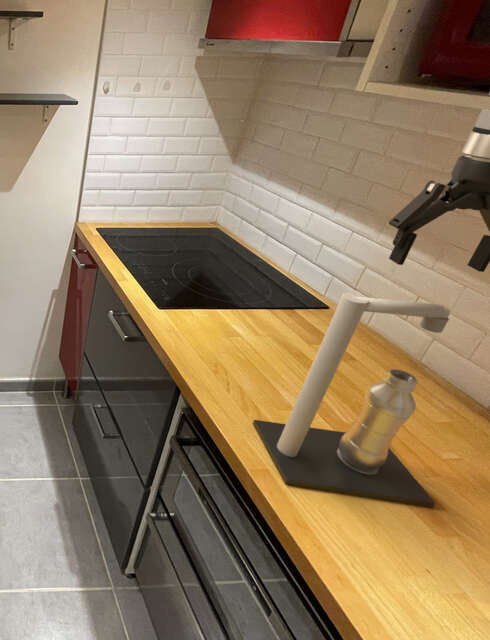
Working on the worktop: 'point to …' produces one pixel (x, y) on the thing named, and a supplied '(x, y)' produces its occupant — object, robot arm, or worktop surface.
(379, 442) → the plastic bottle
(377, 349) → the worktop surface
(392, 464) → the tap
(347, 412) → the worktop surface
